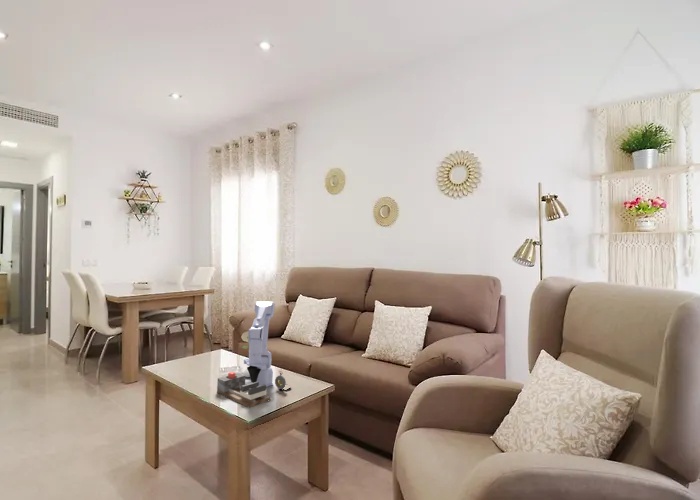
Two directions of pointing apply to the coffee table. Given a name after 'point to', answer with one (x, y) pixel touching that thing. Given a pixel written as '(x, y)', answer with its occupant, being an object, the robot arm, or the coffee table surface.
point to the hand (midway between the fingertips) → (253, 381)
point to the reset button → (231, 375)
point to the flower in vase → (245, 338)
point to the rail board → (237, 390)
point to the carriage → (253, 390)
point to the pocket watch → (280, 381)
